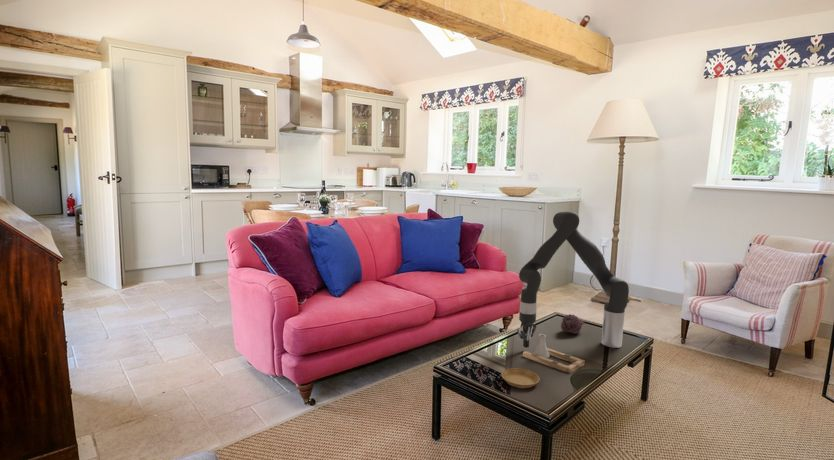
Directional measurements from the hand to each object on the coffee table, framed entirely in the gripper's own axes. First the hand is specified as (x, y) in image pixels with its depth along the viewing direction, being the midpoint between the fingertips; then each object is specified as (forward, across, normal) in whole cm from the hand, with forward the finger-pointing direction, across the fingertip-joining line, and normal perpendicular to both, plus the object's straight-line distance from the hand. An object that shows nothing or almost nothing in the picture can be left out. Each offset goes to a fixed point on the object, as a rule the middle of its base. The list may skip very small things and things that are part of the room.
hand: (526, 346), depth 208 cm
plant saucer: (+2, +29, +16) cm, 33 cm away
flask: (+2, 0, +8) cm, 8 cm away
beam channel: (+2, 0, +13) cm, 13 cm away
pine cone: (+2, -39, +2) cm, 39 cm away
